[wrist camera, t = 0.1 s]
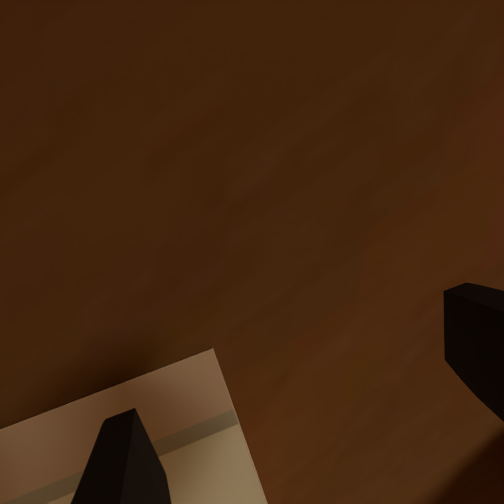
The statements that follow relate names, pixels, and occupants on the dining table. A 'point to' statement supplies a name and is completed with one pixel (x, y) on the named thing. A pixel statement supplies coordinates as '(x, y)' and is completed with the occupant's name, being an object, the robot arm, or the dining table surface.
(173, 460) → the beige square holder
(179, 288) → the dining table surface
